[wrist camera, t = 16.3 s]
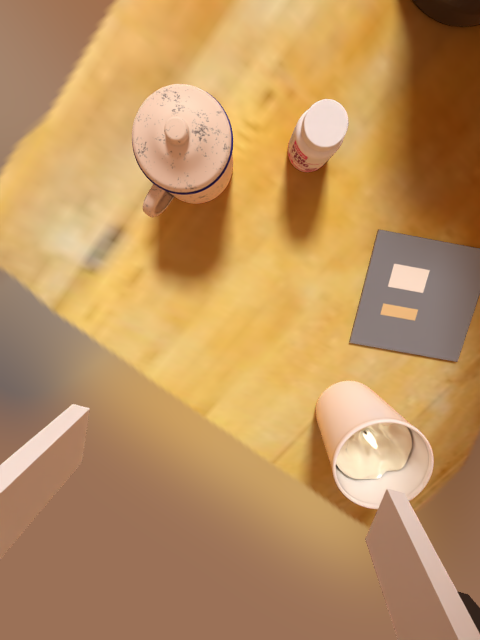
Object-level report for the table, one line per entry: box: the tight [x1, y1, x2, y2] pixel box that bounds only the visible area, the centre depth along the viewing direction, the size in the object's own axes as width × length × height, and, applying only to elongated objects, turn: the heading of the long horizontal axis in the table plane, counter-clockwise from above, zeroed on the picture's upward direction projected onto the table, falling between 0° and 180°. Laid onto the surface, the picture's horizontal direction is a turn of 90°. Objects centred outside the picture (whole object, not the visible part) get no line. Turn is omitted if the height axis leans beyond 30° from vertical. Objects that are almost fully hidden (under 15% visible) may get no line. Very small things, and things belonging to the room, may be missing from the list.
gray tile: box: [349, 230, 480, 362], centre depth 41 cm, size 14×14×1 cm
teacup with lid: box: [132, 84, 233, 217], centre depth 33 cm, size 12×9×12 cm
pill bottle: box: [288, 99, 348, 172], centre depth 34 cm, size 5×5×8 cm
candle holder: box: [316, 381, 434, 509], centre depth 38 cm, size 10×10×12 cm
